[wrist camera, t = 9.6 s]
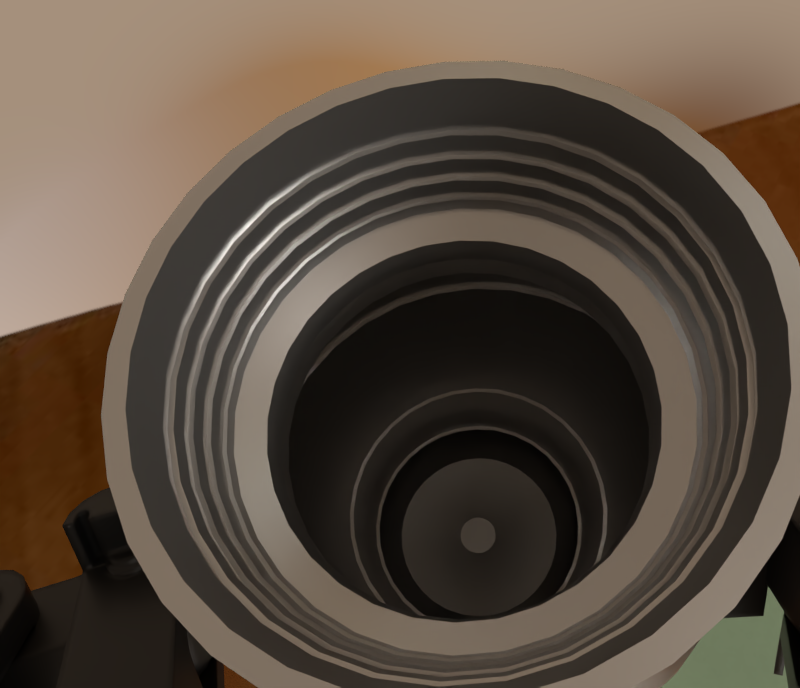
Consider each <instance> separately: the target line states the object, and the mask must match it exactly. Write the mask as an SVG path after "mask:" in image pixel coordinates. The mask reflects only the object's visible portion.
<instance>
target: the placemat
mask: <svg viewBox="0 0 800 688" xmlns="http://www.w3.org/2000/svg"><path fill="white" fill-rule="evenodd" d="M783 614H784V611H783V609H782V608H781V606H780V604H779V603H778V601H777V599H776V598H775V596H774V595H773V593H772V591H771V590H770V588H769V587H768V590H767V597H766V603H765V609H764V616H754V617H736V618H723V619H722V620H721V621H719V622H718V623H717V624H716V625H715V626H714V627H713V628H712V629H711V630H710V631H708V632H707V633H706V634H705V635H704V636H703V637H702V638H701V639H700V641H699V642H698V643H697V645H696V646H695V648H694V649H693V651H692V652H691V653H690V655H689V656H688V658H687V659H686V661H685V662H684V663H683V665H682V666H681V668H680V669H679V670H678V672H677V673H676V674H675V675H674V676H673V677H672V678H671V679H670V680H668V681H667V682H666V683H665V684H664V685H663V686H662V687H661V688H788V682H787V676H786V670H785V666H784V671H783V676H782V675H777V674H774V667H775V660H776V654H777V648H778V643H779V637H780V631H781V626H782V620H783Z"/></svg>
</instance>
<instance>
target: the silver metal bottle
mask: <svg viewBox="0 0 800 688" xmlns="http://www.w3.org/2000/svg"><path fill="white" fill-rule="evenodd" d="M101 419H102V429H103V440H104V450H105V461H106V471H107V480H108V483H109V486H110V490H111V493H112V496H113V499H114V502H115V505H116V509H117V512H118V515H119V518H120V521H121V524H122V528H123V531H124V534H125V537H126V540H127V543H128V545H129V547H130V548H131V550H132V552H133V553H134V555H135V557H136V559H137V560H138V562H139V564H140V566H141V567H142V569H143V571H144V573H145V574H146V576H147V578H148V579H149V581H150V583H151V585H152V586H153V588H154V590H155V592H156V593H157V595H158V597H159V599H160V600H161V602H162V603H163V604H164V605H165V606H166V608H167V609H168V610H169V611H170V612H171V613H172V614H173V615H174V616H175V617H176V618H177V619H178V620H179V622H180V623H181V624H182V625H183V626H184V627H185V628H186V629H187V630H188V631H189V632H190V633H191V635H192V636H193V637H194V638H195V639H196V640H197V641H198V642H199V643H200V644H201V645H202V646H203V647H204V649H205V650H206V651H207V652H208V653H209V654H210V655H211V656H212V657H214V658H215V659H217V660H218V661H220V662H221V663H223V664H224V665H226V666H227V667H229V668H230V669H232V670H233V671H235V672H236V673H238V674H239V675H240V676H242V677H243V678H245V679H246V680H248V681H249V682H251V683H252V684H254V685H255V686H257V687H258V688H661V687H662V686H663V685H664V684H665V683H666V682H667V681H668V680H670V679H671V678H672V677H673V676H674V675H675V674H676V673H677V672H678V670H679V669H680V668H681V666H682V665H683V663H684V662H685V661H686V659H687V658H688V656H689V655H690V653H691V652H692V651H693V649H694V648H695V646H696V645H697V643H698V642H699V641H700V639H701V638H702V637H703V636H704V635H705V634H706V633H707V632H708V631H710V630H711V629H712V628H713V627H714V626H715V625H716V624H717V623H718V622H719V621H721V620H722V619H723V618H724V617H725V616H726V615H727V614H728V613H729V612H730V611H731V610H733V609H734V608H735V607H736V605H737V604H738V602H739V601H740V599H741V598H742V597H743V595H744V594H745V592H746V591H747V589H748V588H749V587H750V585H751V584H752V582H753V581H754V579H755V578H756V576H757V575H758V574H759V572H760V571H761V569H762V568H763V566H764V565H765V563H766V562H767V561H768V559H769V558H770V556H771V555H772V553H773V552H774V551H775V549H776V548H777V546H778V545H779V543H780V542H781V540H782V538H783V536H784V533H785V531H786V528H787V526H788V523H789V521H790V518H791V516H792V513H793V511H794V508H795V506H796V503H797V501H798V498H799V496H800V267H799V263H798V260H797V257H796V256H795V254H794V252H793V250H792V249H791V247H790V245H789V243H788V241H787V240H786V238H785V236H784V234H783V233H782V231H781V229H780V227H779V225H778V224H777V222H776V220H775V218H774V217H773V215H772V213H771V211H770V209H769V208H768V206H767V204H766V202H765V201H764V200H763V198H762V197H761V196H760V195H759V194H758V193H757V192H756V190H755V189H754V188H753V187H752V186H751V185H750V184H749V182H748V181H747V180H746V179H745V178H744V177H743V176H742V174H741V173H740V172H739V171H738V170H737V169H736V168H735V166H734V165H733V164H732V163H731V162H730V161H729V160H728V158H727V157H726V156H725V155H724V154H723V153H722V152H721V151H720V150H718V149H717V148H716V147H714V146H713V145H712V144H710V143H709V142H708V141H707V140H705V139H704V138H703V137H701V136H700V135H699V134H698V133H696V132H695V131H694V130H692V129H691V128H690V127H689V126H687V125H686V124H685V123H683V122H682V121H681V120H680V119H678V118H677V117H675V116H674V115H673V114H671V113H669V112H667V111H665V110H663V109H661V108H659V107H657V106H655V105H653V104H651V103H649V102H647V101H645V100H644V99H642V98H640V97H638V96H636V95H634V94H632V93H630V92H628V91H626V90H624V89H622V88H620V87H617V86H614V85H611V84H608V83H605V82H602V81H598V80H595V79H592V78H589V77H586V76H582V75H579V74H576V73H573V72H570V71H566V70H563V69H557V68H550V67H543V66H536V65H529V64H522V63H515V62H508V61H476V62H475V61H472V62H471V61H470V62H441V63H436V64H430V65H424V66H418V67H412V68H407V69H400V70H394V71H389V72H384V73H382V74H379V75H376V76H373V77H369V78H367V79H363V80H360V81H357V82H354V83H352V84H348V85H345V86H342V87H339V88H336V89H333V90H330V91H328V92H326V93H324V94H322V95H320V96H318V97H316V98H315V99H312V100H311V101H309V102H307V103H305V104H303V105H301V106H299V107H297V108H295V109H293V110H291V111H289V112H287V113H285V114H283V115H281V116H279V117H277V118H276V119H275V120H273V121H272V122H270V123H269V124H268V125H266V126H265V127H263V128H262V129H261V130H259V131H258V132H256V133H255V134H254V135H252V136H251V137H249V138H248V139H247V140H245V141H244V142H242V143H241V144H240V145H238V146H237V147H235V148H234V149H233V150H231V151H230V152H229V153H228V154H227V155H226V156H225V157H224V158H223V159H222V160H221V161H220V162H219V163H218V164H217V165H216V166H215V167H213V169H212V170H210V171H209V172H208V173H207V174H206V175H205V176H204V177H203V178H202V179H201V180H200V181H199V182H198V183H197V184H196V185H195V186H194V187H193V188H192V189H191V190H190V191H189V192H188V193H187V194H186V196H185V197H184V199H183V200H182V201H181V203H180V204H179V205H178V207H177V208H176V209H175V211H174V212H173V213H172V215H171V216H170V218H169V219H168V220H167V222H166V223H165V224H164V226H163V227H162V228H161V230H160V231H159V233H158V234H157V235H156V236H155V238H154V239H153V241H152V242H151V245H150V246H149V249H148V250H147V252H146V254H145V256H144V258H143V260H142V262H141V264H140V266H139V268H138V270H137V272H136V274H135V276H134V278H133V280H132V282H131V284H130V286H129V288H128V290H127V292H126V294H125V297H124V300H123V303H122V307H121V310H120V313H119V317H118V320H117V323H116V327H115V330H114V333H113V337H112V340H111V343H110V347H109V350H108V354H107V364H106V373H105V383H104V393H103V402H102V412H101Z"/></svg>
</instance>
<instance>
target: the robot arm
mask: <svg viewBox="0 0 800 688" xmlns="http://www.w3.org/2000/svg"><path fill="white" fill-rule="evenodd" d="M63 528H64V530H65V532H66V535H67V537H68V539H69V541H70V543H71V546H72V548H73V550H74V552H75V554H76V556H77V559H78V561H79V563H80V565H81V567H82V569H83V574H82V575H80V576H78V577H75V578H72V579H69V580H66V581H62V582H59V583H56V584H52V585H49V586H46V587H43V588H39V589H36V590H33V591H30V589H29V587H28V585H27V583H26V581H25V579H24V577H23V576H22V575H21V574H19V573H17V572H15V571H14V570H0V688H224V666H223V663H221V662H220V661H218V660H217V659H215V658H214V657H212V656H211V655H210V654H209V653H208V652H207V651H206V650H205V649H204V647H203V646H202V645H201V644H200V643H199V642H198V641H197V640H196V639H195V638H194V637H193V636H192V635H191V633H190V632H189V631H188V630H187V629H186V628H185V627H184V626H183V625H182V624H181V623H180V622H179V620H178V619H177V618H176V617H175V616H174V615H173V614H172V613H171V612H170V611H169V610H168V609H167V608H166V606H165V605H164V604H163V603H162V602H161V600H160V599H159V597H158V595H157V593H156V592H155V590H154V588H153V586H152V585H151V583H150V581H149V579H148V578H147V576H146V574H145V573H144V571H143V569H142V567H141V566H140V564H139V562H138V560H137V559H136V557H135V555H134V553H133V552H132V550H131V548H130V547H129V545H128V543H127V540H126V537H125V534H124V531H123V528H122V524H121V521H120V518H119V515H118V512H117V509H116V505H115V502H114V499H113V496H112V493H111V490H110V488H107V489H105V490H102V491H100V492H98V493H96V494H94V495H93V496H91V497H89V498H88V499H86V500H84V501H83V502H82V503H80V504H79V505H78V506H77V507H76V508H75V509H74V510H73V511H72V512H71V513H70V514H69V515H68V517H67V519H66V520H65V522H64V524H63ZM768 587H769V588H770V590H771V591H772V593H773V595H774V596H775V598H776V599H777V601H778V603H779V604H780V606H781V608H782V609H783V611H784V614H783V620H782V626H781V631H780V637H779V643H778V648H777V654H776V660H775V667H774V674H777V675H782V676H783V671H784V666H785V670H786V676H787V682H788V688H800V496H799V498H798V501H797V503H796V506H795V508H794V511H793V513H792V516H791V518H790V521H789V523H788V526H787V528H786V531H785V533H784V536H783V538H782V540H781V542H780V543H779V545H778V546H777V548H776V549H775V551H774V552H773V553H772V555H771V556H770V558H769V559H768V561H767V562H766V563H765V565H764V566H763V568H762V569H761V571H760V572H759V574H758V575H757V576H756V578H755V579H754V581H753V582H752V584H751V585H750V587H749V588H748V589H747V591H746V592H745V594H744V595H743V597H742V598H741V599H740V601H739V602H738V604H737V605H736V607H735V608H734V609H733V610H731V611H730V612H729V613H728V614H727V615H726V616H725V617H724V618H736V617H754V616H764V609H765V603H766V597H767V590H768Z"/></svg>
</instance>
